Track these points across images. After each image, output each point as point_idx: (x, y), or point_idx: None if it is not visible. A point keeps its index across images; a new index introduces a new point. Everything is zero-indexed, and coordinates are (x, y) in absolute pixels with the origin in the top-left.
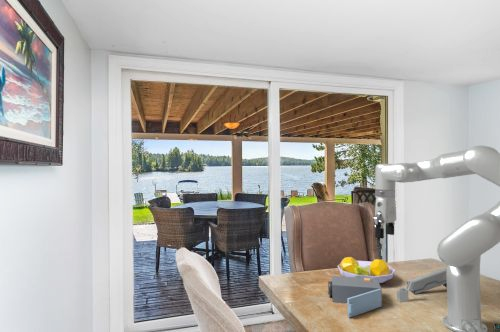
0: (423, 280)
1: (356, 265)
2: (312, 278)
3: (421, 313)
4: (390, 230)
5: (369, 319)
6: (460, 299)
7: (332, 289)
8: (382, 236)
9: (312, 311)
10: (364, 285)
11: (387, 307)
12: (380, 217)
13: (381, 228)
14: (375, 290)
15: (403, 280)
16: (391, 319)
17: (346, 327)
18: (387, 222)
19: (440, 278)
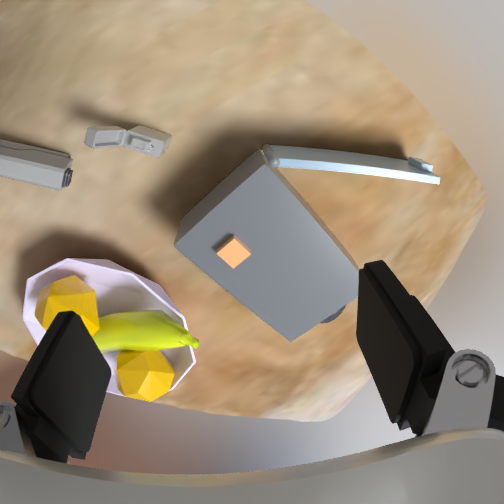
0: (19, 156)
1: (194, 341)
2: (245, 384)
3: (200, 41)
4: (76, 370)
5: (376, 119)
6: None
7: None
8: (390, 278)
9: (430, 244)
10: (290, 223)
11: (251, 131)
12: None
13: (464, 355)
14: (306, 164)
15: (19, 251)
16: (326, 75)
17: (449, 138)
18: (470, 435)
19: None
